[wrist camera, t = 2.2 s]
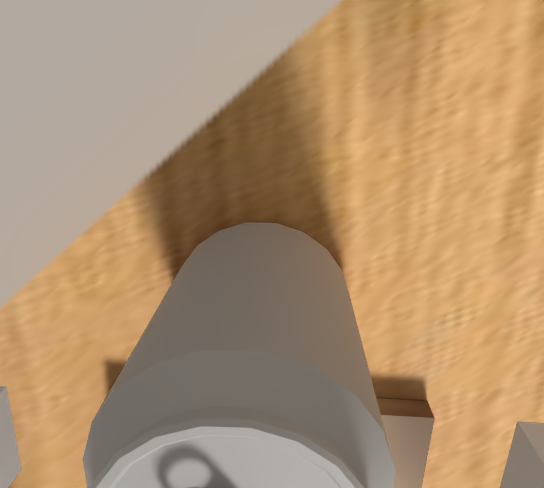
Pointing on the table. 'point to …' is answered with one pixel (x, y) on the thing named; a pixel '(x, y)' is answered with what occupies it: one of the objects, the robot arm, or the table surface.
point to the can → (245, 377)
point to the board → (407, 438)
